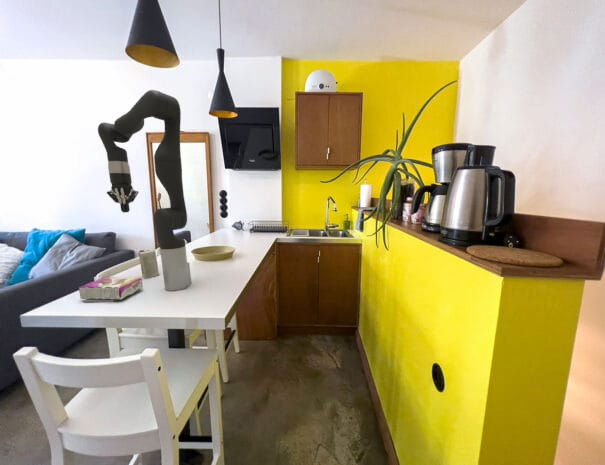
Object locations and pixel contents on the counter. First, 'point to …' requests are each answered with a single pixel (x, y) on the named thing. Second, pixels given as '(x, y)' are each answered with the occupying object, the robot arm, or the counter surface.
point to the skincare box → (148, 264)
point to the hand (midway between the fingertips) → (125, 212)
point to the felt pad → (98, 300)
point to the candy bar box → (111, 288)
